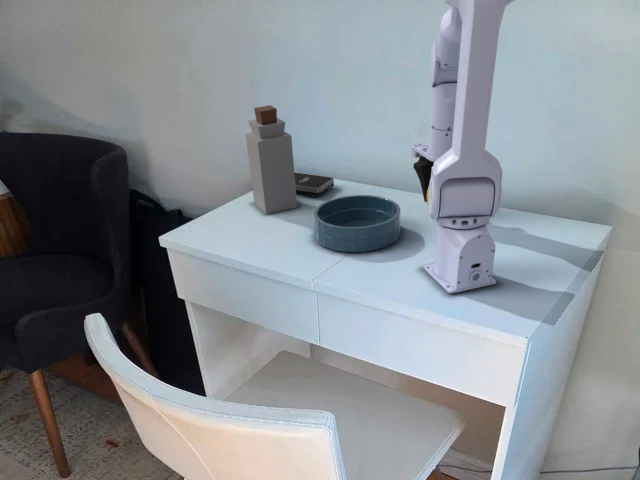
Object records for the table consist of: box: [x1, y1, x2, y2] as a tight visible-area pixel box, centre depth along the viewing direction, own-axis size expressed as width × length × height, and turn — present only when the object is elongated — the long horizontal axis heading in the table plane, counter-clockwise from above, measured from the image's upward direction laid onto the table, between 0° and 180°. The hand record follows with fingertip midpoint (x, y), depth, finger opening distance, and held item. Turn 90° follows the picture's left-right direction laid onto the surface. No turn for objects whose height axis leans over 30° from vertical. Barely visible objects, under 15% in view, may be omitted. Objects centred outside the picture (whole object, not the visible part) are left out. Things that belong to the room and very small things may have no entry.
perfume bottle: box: [245, 104, 298, 215], centre depth 118 cm, size 7×7×18 cm
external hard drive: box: [294, 171, 335, 197], centre depth 129 cm, size 7×11×2 cm, turn 59°
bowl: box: [313, 194, 402, 253], centre depth 109 cm, size 15×15×4 cm
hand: (441, 204), depth 113 cm, fingers closed on lemon, 5 cm apart
